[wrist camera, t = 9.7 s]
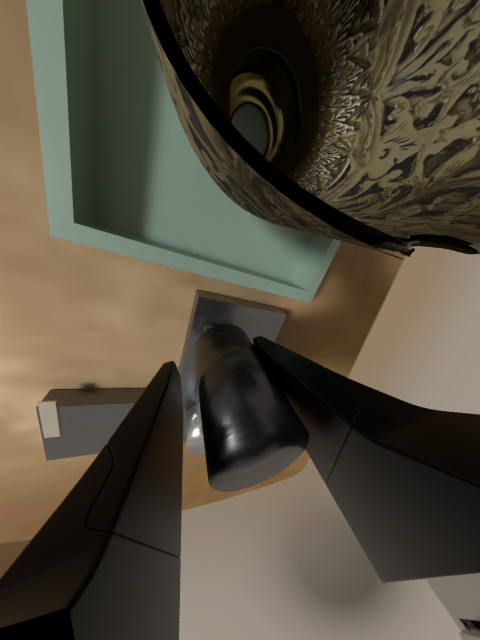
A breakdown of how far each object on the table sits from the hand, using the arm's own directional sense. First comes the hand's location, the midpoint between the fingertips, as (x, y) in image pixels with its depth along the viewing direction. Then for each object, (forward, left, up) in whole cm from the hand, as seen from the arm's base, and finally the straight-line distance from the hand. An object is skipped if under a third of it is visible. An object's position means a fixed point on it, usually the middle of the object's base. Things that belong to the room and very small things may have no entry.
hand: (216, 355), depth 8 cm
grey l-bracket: (+5, -2, -4) cm, 6 cm away
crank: (+4, +1, -2) cm, 4 cm away
